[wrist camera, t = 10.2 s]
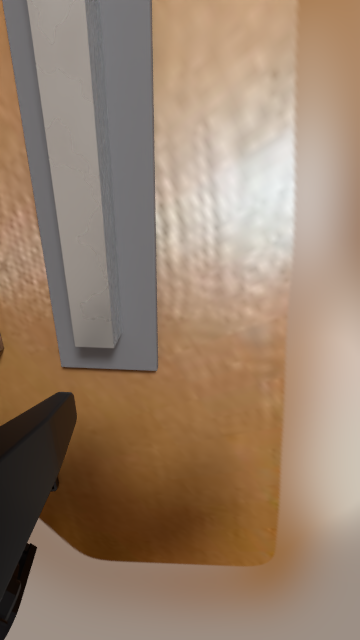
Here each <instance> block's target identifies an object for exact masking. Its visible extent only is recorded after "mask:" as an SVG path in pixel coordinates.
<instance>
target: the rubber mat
mask: <svg viewBox="0 0 360 640" xmlns="http://www.w3.org/2000/svg"><path fill="white" fill-rule="evenodd" d="M2 1H3V7H4V14H5V20H6V26H7V32H8V38H9V44H10V51H11V57H12V63H13V69H14V75H15V82H16V88H17V94H18V100H19V106H20V112H21V119H22V125H23V131H24V137H25V143H26V149H27V156H28V162H29V168H30V174H31V180H32V187H33V193H34V199H35V205H36V211H37V217H38V224H39V230H40V236H41V242H42V248H43V254H44V261H45V267H46V273H47V279H48V285H49V292H50V298H51V304H52V310H53V316H54V322H55V329H56V335H57V341H58V347H59V353H60V359H61V366H62V367H79V368H102V369H126V370H150V371H157V369H158V336H157V279H156V222H155V165H154V108H153V51H152V0H100V7H101V21H102V36H103V51H104V65H105V80H106V94H107V109H108V123H109V138H110V153H111V167H112V182H113V196H114V211H115V226H116V240H117V255H118V269H119V284H120V299H121V313H122V328H123V332H122V334H121V336H120V337H119V339H118V341H117V343H116V345H115V347H114V348H97V347H75V342H74V334H73V327H72V320H71V313H70V306H69V299H68V291H67V284H66V277H65V270H64V263H63V255H62V248H61V241H60V234H59V227H58V220H57V212H56V205H55V198H54V191H53V184H52V176H51V169H50V162H49V155H48V148H47V141H46V133H45V126H44V119H43V112H42V105H41V97H40V90H39V83H38V76H37V69H36V61H35V54H34V47H33V40H32V33H31V26H30V18H29V11H28V4H27V0H2Z"/></svg>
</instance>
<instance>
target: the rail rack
mask: <svg viewBox="0 0 360 640" xmlns="http://www.w3.org/2000/svg"><path fill="white" fill-rule="evenodd" d="M2 349H4V347H3V343H2V339H1V335H0V351H1V350H2Z"/></svg>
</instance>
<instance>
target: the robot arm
mask: <svg viewBox="0 0 360 640" xmlns="http://www.w3.org/2000/svg"><path fill="white" fill-rule="evenodd" d="M76 420H77V413H76V406H75V400H74V395H73V394H72V393H71V392H58V393H56V394H54V395H52V396H51V397H49V398H47V399H46V400H44V401H42V402H41V403H39V404H37V405H36V406H34V407H32V408H31V409H29V410H27V411H26V412H24V413H22V414H20V415H19V416H17V417H15V418H14V419H12V420H10V421H9V422H7V423H5V424H4V425H2V426H0V640H4V639H5V637H6V635H7V634H8V632H9V630H10V628H11V626H12V623H13V621H14V619H15V617H16V615H17V612H18V609H19V606H20V603H21V600H22V596H23V592H24V589H25V586H26V583H27V579H28V576H29V572H30V569H31V566H32V563H33V559H34V556H35V553H36V549H37V547H36V546H34V545H32V544H31V543H30V544H28V543H27V542H28V540H29V537H30V535H31V533H32V531H33V529H34V526H35V524H36V522H37V520H38V518H39V515H40V513H41V511H42V509H43V507H44V505H45V502H46V500H47V498H48V496H49V494H50V491H56V490H57V488H58V486H59V482H58V478H57V476H58V474H59V471H60V468H61V466H62V463H63V460H64V457H65V454H66V451H67V448H68V445H69V442H70V439H71V436H72V433H73V430H74V427H75V424H76Z"/></svg>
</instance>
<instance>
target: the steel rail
mask: <svg viewBox="0 0 360 640" xmlns="http://www.w3.org/2000/svg"><path fill="white" fill-rule="evenodd" d="M27 4H28V11H29V18H30V26H31V33H32V40H33V47H34V54H35V61H36V69H37V76H38V83H39V90H40V97H41V105H42V112H43V119H44V126H45V133H46V141H47V148H48V155H49V162H50V169H51V176H52V184H53V191H54V198H55V205H56V212H57V220H58V227H59V234H60V241H61V248H62V255H63V263H64V270H65V277H66V284H67V291H68V299H69V306H70V313H71V320H72V327H73V334H74V342H75V347H97V348H114V347H115V345H116V343H117V341H118V339H119V337H120V336H121V334H122V332H123V328H122V313H121V299H120V284H119V269H118V255H117V240H116V226H115V211H114V196H113V182H112V167H111V153H110V138H109V123H108V109H107V94H106V80H105V65H104V51H103V36H102V21H101V7H100V0H27Z"/></svg>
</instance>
